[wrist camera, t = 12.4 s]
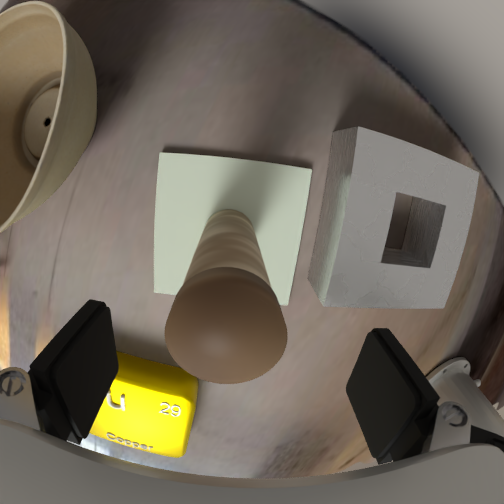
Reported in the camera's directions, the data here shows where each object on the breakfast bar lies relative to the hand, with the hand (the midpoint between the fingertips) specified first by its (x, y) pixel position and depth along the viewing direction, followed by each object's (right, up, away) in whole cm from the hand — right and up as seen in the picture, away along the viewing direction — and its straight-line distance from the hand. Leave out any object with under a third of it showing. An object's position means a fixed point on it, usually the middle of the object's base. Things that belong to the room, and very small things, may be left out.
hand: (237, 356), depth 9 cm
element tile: (-14, -14, +20) cm, 29 cm away
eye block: (+13, +7, +14) cm, 20 cm away
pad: (-2, +5, +14) cm, 15 cm away
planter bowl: (-17, +15, +9) cm, 25 cm away
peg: (-1, +5, +13) cm, 14 cm away
